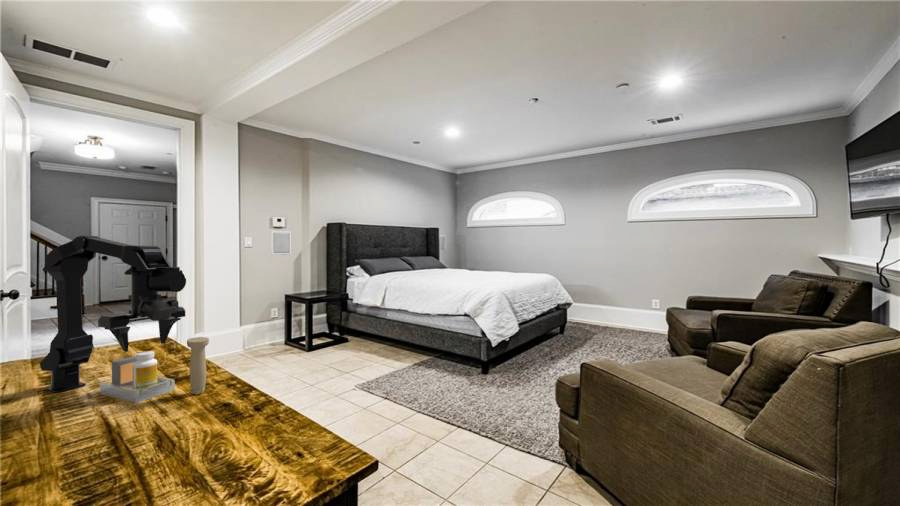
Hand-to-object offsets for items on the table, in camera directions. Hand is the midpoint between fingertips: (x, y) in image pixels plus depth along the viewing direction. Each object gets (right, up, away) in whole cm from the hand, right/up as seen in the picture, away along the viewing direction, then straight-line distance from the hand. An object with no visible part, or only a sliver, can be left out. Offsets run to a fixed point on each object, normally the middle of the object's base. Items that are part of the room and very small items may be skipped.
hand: (145, 347), depth 105 cm
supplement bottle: (0, -11, 0) cm, 11 cm away
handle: (+14, -13, +1) cm, 19 cm away
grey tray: (-3, -13, +2) cm, 13 cm away
